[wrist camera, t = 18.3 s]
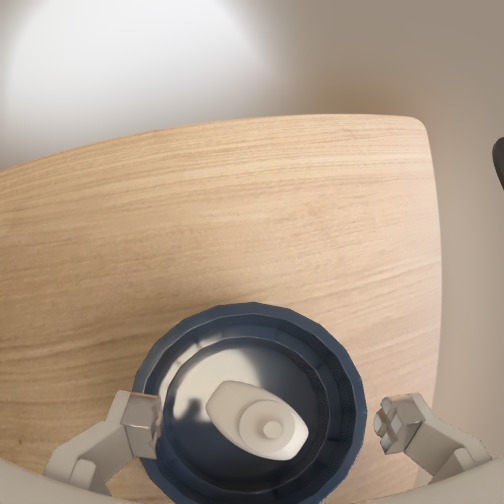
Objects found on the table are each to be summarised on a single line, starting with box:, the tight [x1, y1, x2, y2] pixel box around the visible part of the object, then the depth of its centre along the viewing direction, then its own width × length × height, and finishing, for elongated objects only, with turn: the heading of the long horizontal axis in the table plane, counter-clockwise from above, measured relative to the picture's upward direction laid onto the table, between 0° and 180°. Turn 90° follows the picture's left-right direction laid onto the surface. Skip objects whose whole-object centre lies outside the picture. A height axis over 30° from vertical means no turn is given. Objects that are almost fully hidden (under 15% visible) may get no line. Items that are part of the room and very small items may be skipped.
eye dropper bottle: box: [205, 380, 309, 460], centre depth 16 cm, size 4×6×12 cm
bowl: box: [132, 302, 367, 504], centre depth 19 cm, size 15×15×6 cm
